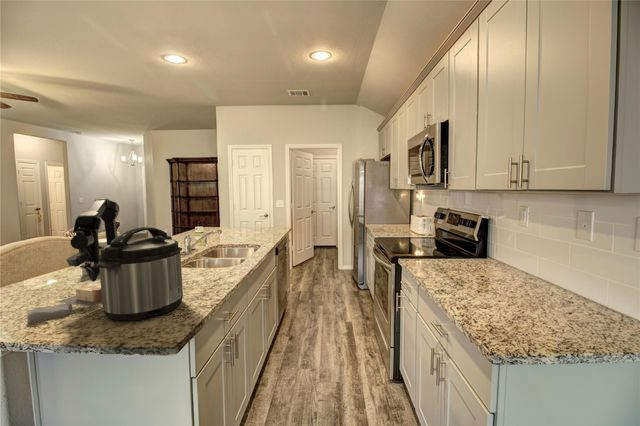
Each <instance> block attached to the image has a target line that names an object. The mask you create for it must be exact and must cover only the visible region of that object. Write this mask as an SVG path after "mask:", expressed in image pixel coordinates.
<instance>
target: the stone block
mask: <svg viewBox="0 0 640 426" xmlns="http://www.w3.org/2000/svg"><path fill="white" fill-rule="evenodd" d="M72 310H73V304H71V303H62V304H61V303H60V304H57V305H55V306H41V307H34V308H32V309H31V310H30V311H29V312H27V314H26V316H27V317H26V318H27V322H28V324H35V323H39V322H40V323H41V322H48V320H49V319H55V318H60V317H66V316H69V315H71V311H72Z"/></svg>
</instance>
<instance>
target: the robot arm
mask: <svg viewBox="0 0 640 426" xmlns="http://www.w3.org/2000/svg"><path fill="white" fill-rule="evenodd" d="M119 212H120V205H119V204H118V203H117V202H116V201H113V200H110V199H109V198H106V197H105V198H101V197H100V198H96V199H95V200H94V202H93V203H92V205H91V206H90V207H89V209H88V210H87V211H86V212H82V213H80V214H79V215H78V216H77V217H76V218H75V220H74V221H75V222H74V227H73V231H72V233H73V234H74V233H75V235H74V236H73V237H71V239H70V241H69V242H70V246H71V247H72V248H73V249H74V250H78V252H77V253H74V254H73V255H71V256H69V257H68V258H66V259H65V260H66V262H67V264H68V266H69V267H74V268H76V267H77V268H78V267H79V268H81V269H82V268H83V269H85V270H86V272H87V273H88V276H89V277H88V278H89V279H90V281H91V282H94V283H95V282H96V281H97V280H98V277H99V276H100V268H97V264H98V263H99V255H100V250H99V249H101V248H102V246H99V239H100V238H99V230H100V228H101V225H102V221H103V222H104V230H105V231H104V232H105V239H106V240H107V245H110V242H111V241H112V240H114V239H115V238H116V237H118V232H117V222H116V219H117V218H118V216H119Z"/></svg>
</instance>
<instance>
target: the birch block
mask: <svg viewBox="0 0 640 426" xmlns="http://www.w3.org/2000/svg"><path fill="white" fill-rule="evenodd" d="M75 296H76V298H77V300H84V301H91V302H98V301H100V300H102V293H101V285H98V284H87V285H84V286H80V287H78V288H75Z"/></svg>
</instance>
